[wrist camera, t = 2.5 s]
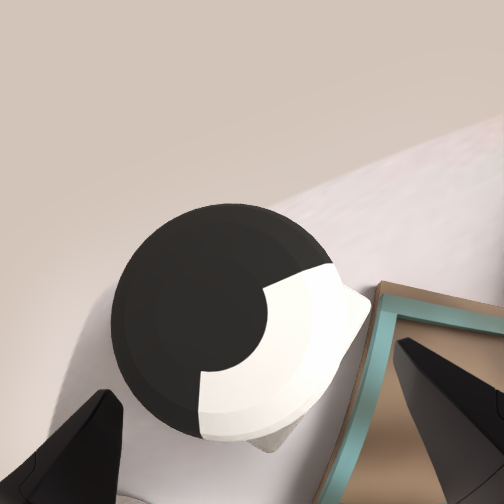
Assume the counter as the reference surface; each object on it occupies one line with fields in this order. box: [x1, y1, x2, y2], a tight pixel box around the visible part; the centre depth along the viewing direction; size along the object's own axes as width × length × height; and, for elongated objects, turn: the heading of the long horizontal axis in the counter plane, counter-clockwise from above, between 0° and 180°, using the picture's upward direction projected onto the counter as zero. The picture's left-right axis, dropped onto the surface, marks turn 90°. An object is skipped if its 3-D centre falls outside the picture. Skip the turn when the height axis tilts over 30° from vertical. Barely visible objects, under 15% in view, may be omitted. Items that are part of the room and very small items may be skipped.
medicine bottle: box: [111, 204, 371, 453], centre depth 12 cm, size 7×7×12 cm
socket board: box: [312, 281, 504, 504], centre depth 12 cm, size 20×16×2 cm
